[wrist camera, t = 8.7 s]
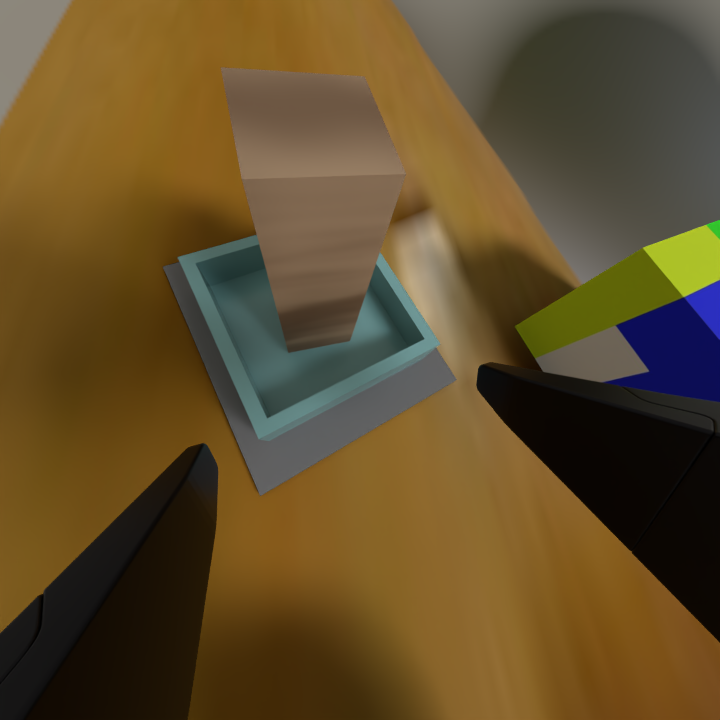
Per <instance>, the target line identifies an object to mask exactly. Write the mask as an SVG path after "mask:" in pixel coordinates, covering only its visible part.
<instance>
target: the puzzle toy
mask: <svg viewBox="0 0 720 720" xmlns="http://www.w3.org/2000/svg"><path fill="white" fill-rule="evenodd" d="M515 328H516V329H517V331H518V333H519V334H520V336H521V337H522V339H523V341H524V342H525V344H526V345H527V347H528V348H529V350H530V352H531V353H532V355H533V356H534V358H535V360H536V361H537V363H538V364H539V366H540V367H541V369H542V371H543V372H547V373H553V374H558V375H564V376H569V377H575V378H580V379H586V380H591V381H597V382H602V383H608V384H613V385H618V386H620V387H622V386H624V387H630V388H635V389H641V390H646V391H652V392H658V393H664V394H670V395H676V396H683V397H689V398H695V399H702V400H709V401H715V402H720V220H718V221H716V222H713V223H710V224H707V225H705V226H702V227H699V228H696V229H694V230H691V231H688V232H686V233H683V234H680V235H677V236H674V237H672V238H669V239H666V240H663V241H660V242H658V243H655V244H652V245H649V246H647V247H644V248H642V249H640V250H639V251H637V252H635V253H634V254H632V255H630V256H629V257H627V258H626V259H624V260H622V261H621V262H619V263H617V264H616V265H614V266H612V267H611V268H609V269H608V270H606V271H604V272H602V273H601V274H599V275H598V276H596V277H594V278H593V279H591V280H590V281H588V282H586V283H585V284H583V285H581V286H580V287H578V288H576V289H575V290H573V291H571V292H570V293H568V294H567V295H565V296H563V297H562V298H560V299H558V300H557V301H555V302H553V303H552V304H550V305H549V306H547V307H545V308H544V309H542V310H540V311H539V312H537V313H535V314H534V315H532V316H531V317H529V318H527V319H526V320H524V321H522V322H521V323H519V324H518V325H516V326H515Z"/></svg>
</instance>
